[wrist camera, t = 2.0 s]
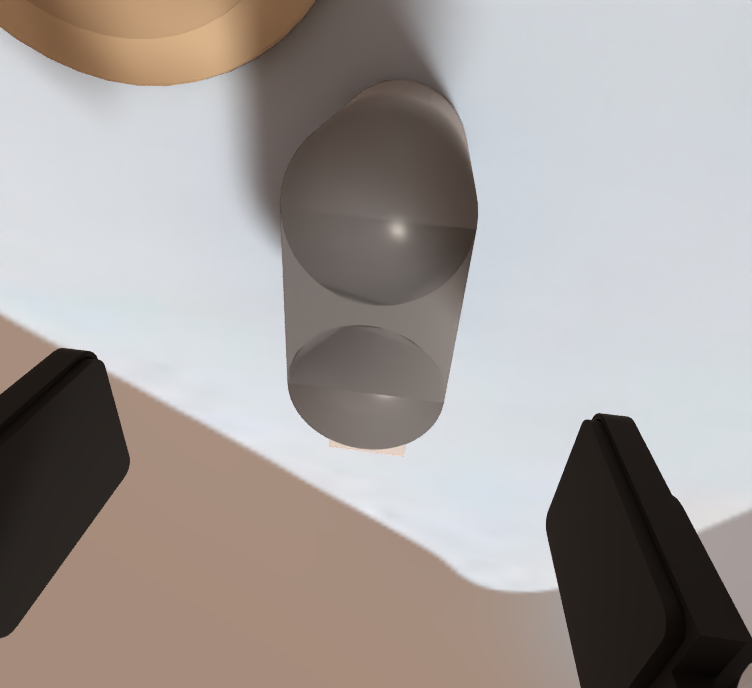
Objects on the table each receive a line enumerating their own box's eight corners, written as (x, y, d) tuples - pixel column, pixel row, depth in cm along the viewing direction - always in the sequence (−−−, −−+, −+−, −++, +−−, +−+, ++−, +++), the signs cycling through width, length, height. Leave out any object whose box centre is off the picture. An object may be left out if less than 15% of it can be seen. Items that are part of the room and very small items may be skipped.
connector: (332, 73, 15) (275, 100, 10) (479, 86, 15) (496, 120, 10) (327, 383, 21) (292, 492, 16) (428, 395, 21) (423, 511, 16)
